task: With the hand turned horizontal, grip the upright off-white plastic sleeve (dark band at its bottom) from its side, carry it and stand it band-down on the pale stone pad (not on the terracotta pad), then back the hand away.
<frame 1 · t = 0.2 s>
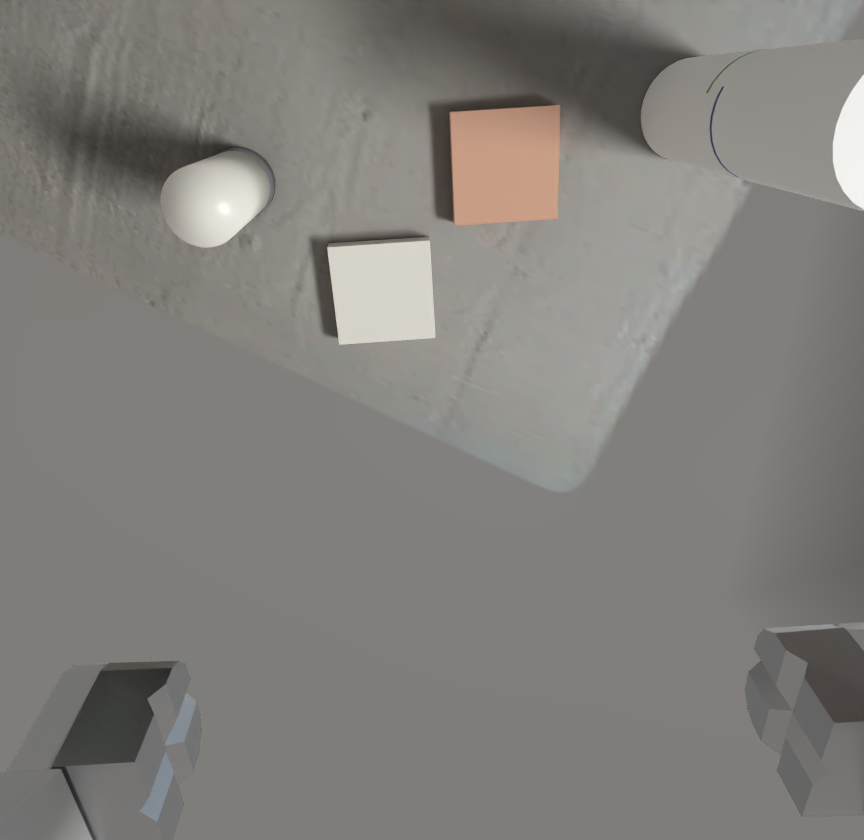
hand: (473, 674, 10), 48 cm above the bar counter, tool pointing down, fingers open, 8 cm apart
cylindrical container: (686, 110, 51), on the bar counter
stone pad: (383, 289, 56), on the bar counter
sleeve: (242, 182, 51), on the bar counter
terracotta pad: (502, 165, 52), on the bar counter
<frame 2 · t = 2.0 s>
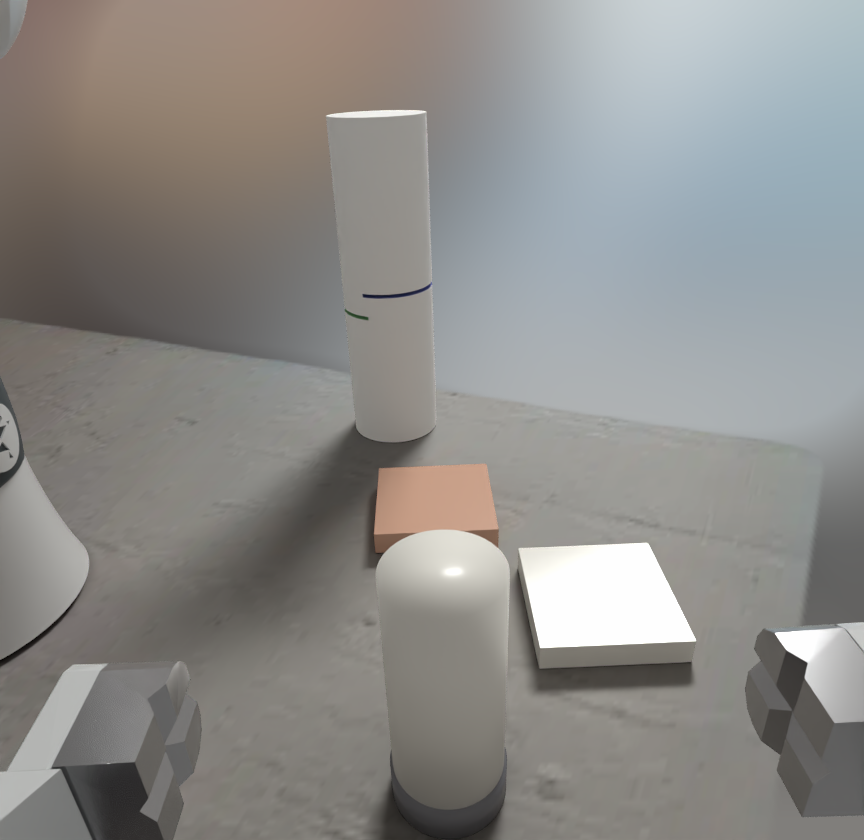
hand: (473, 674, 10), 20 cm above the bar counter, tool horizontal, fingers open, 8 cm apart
cylindrical container: (396, 424, 60), on the bar counter
stone pad: (596, 610, 39), on the bar counter
sleeve: (449, 781, 30), on the bar counter
terracotta pad: (435, 514, 47), on the bar counter
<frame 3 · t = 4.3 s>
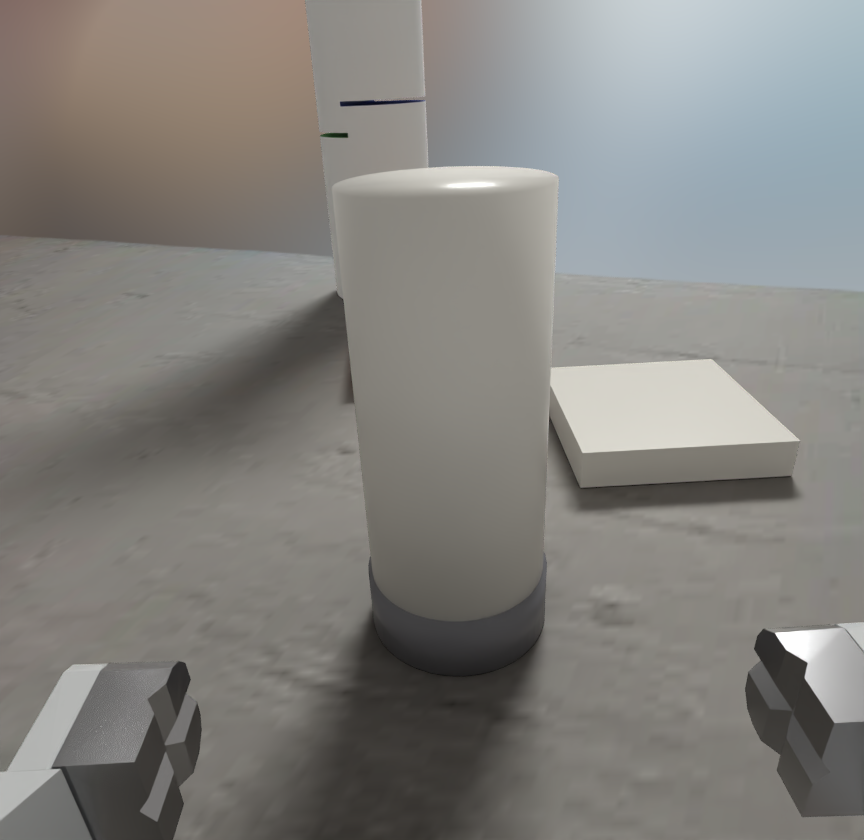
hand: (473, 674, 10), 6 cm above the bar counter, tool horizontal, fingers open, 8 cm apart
cylindrical container: (385, 291, 50), on the bar counter
stone pad: (651, 431, 29), on the bar counter
sleeve: (458, 608, 20), on the bar counter
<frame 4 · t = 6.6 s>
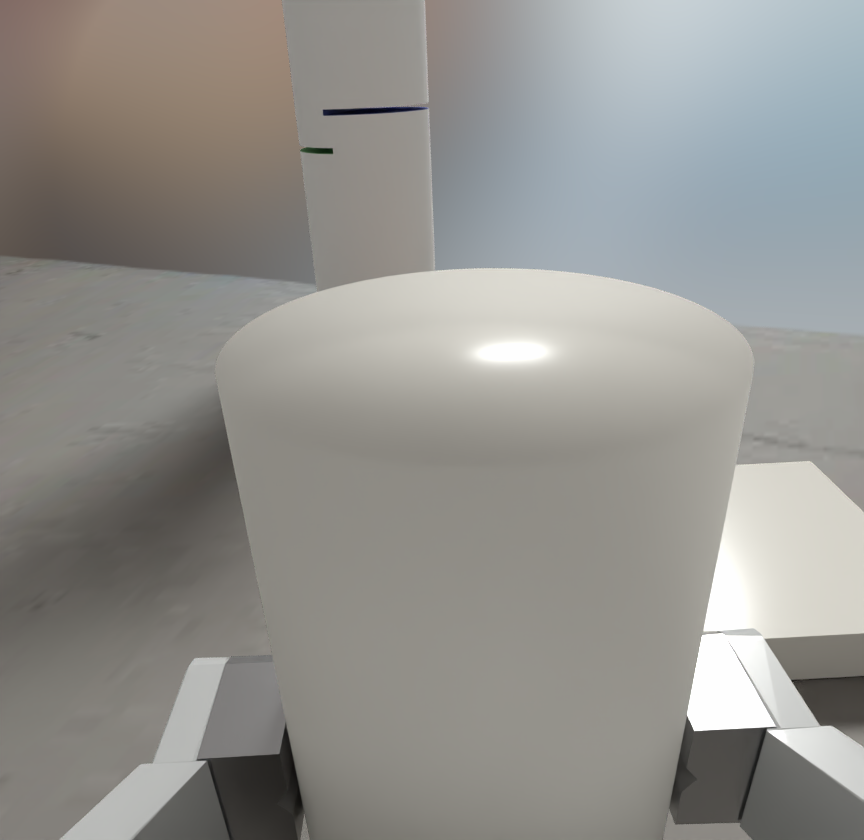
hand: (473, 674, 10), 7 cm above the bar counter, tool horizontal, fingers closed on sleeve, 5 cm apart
cylindrical container: (380, 334, 42), on the bar counter
stone pad: (740, 575, 21), on the bar counter
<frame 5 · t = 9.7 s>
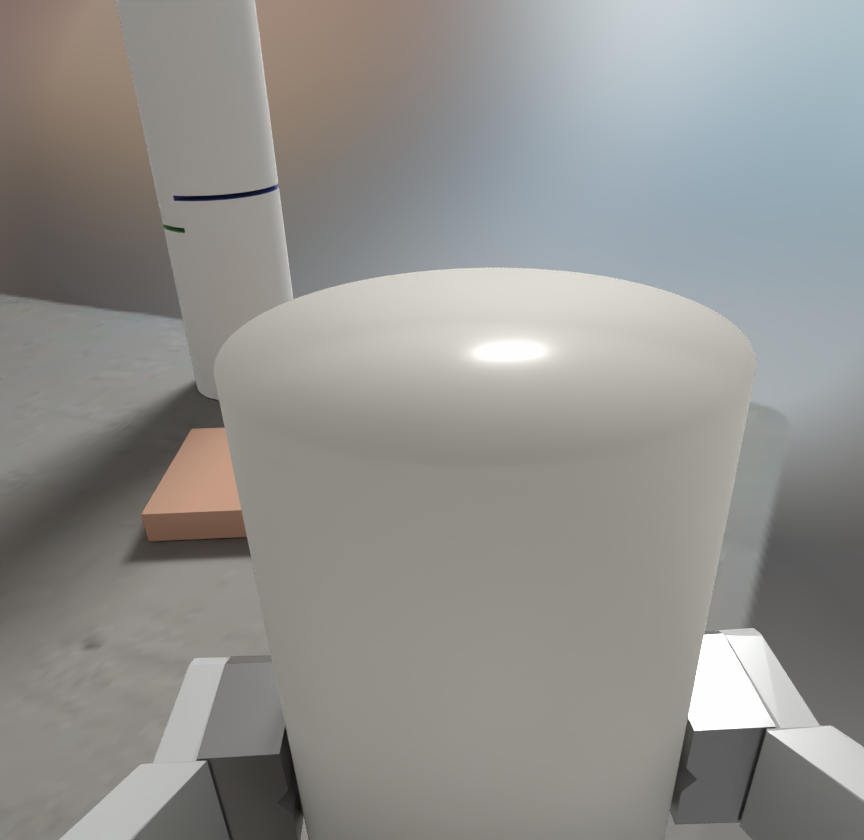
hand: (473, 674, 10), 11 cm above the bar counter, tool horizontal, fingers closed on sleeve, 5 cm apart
cylindrical container: (251, 381, 47), on the bar counter
terracotta pad: (253, 488, 34), on the bar counter
when the fingers open (9 cm above the bar counter, at t = 13.1 s): sleeve drops 1 cm, resting on stone pad.
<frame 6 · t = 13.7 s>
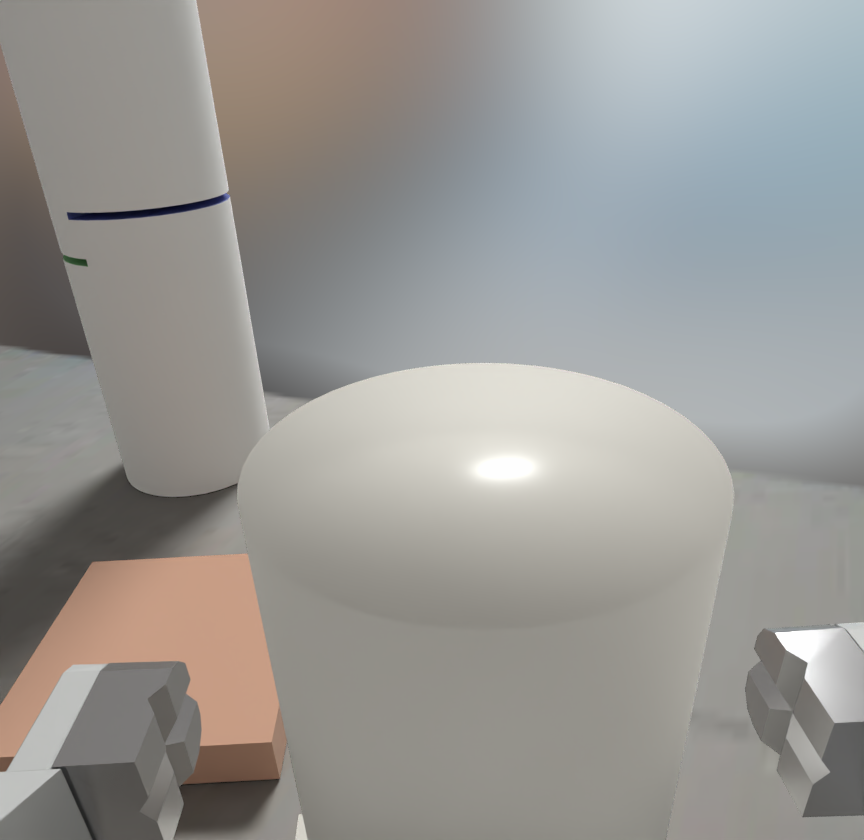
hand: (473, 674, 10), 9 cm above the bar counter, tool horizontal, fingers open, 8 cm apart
cylindrical container: (202, 460, 34), on the bar counter
terracotta pad: (177, 671, 22), on the bar counter
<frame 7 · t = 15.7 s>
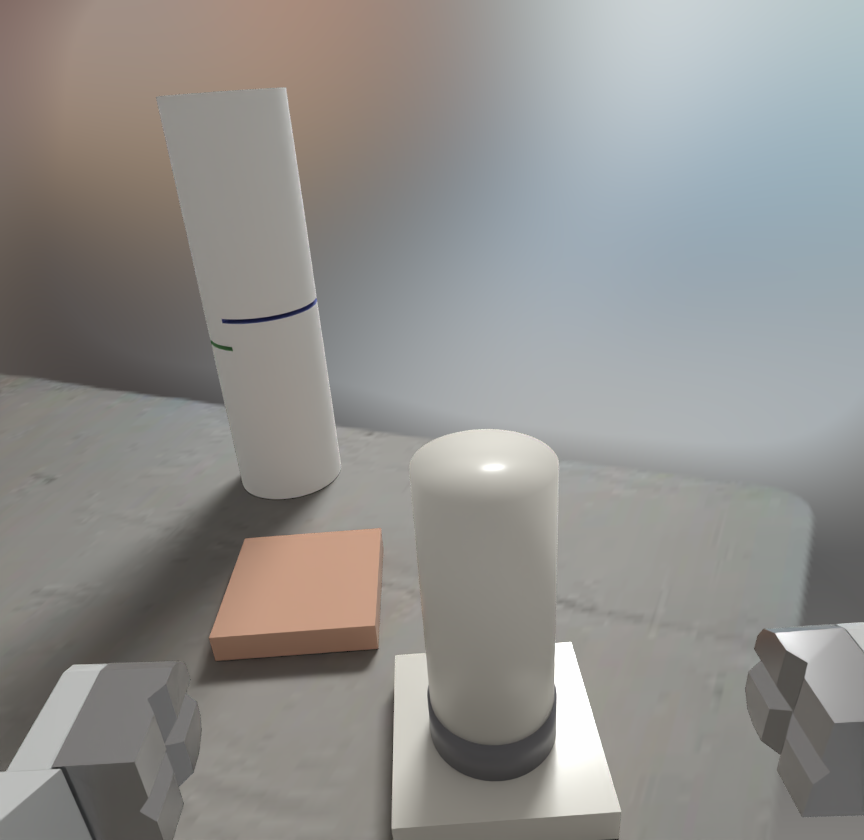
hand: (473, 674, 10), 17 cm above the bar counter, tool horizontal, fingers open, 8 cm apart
cylindrical container: (292, 474, 49), on the bar counter
stone pad: (494, 748, 28), on the bar counter
sleeve: (492, 723, 27), point 2 cm above the bar counter, touching stone pad
terracotta pad: (307, 599, 37), on the bar counter
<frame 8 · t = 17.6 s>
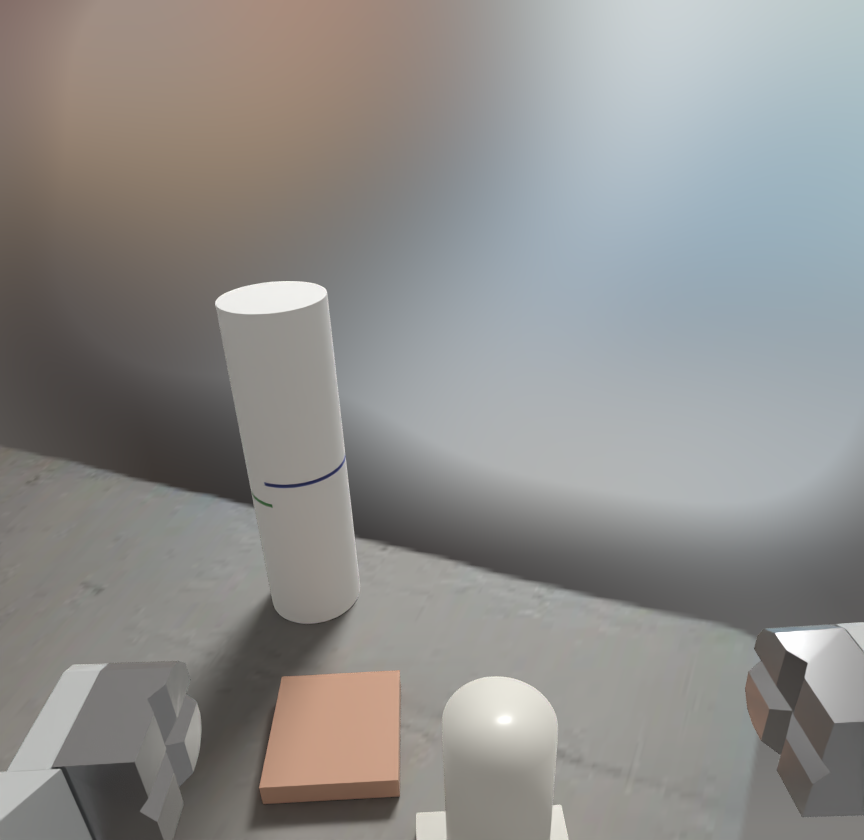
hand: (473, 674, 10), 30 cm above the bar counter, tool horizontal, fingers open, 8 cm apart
cylindrical container: (316, 593, 55), on the bar counter
terracotta pad: (337, 740, 43), on the bar counter
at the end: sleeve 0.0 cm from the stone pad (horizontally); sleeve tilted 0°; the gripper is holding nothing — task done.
